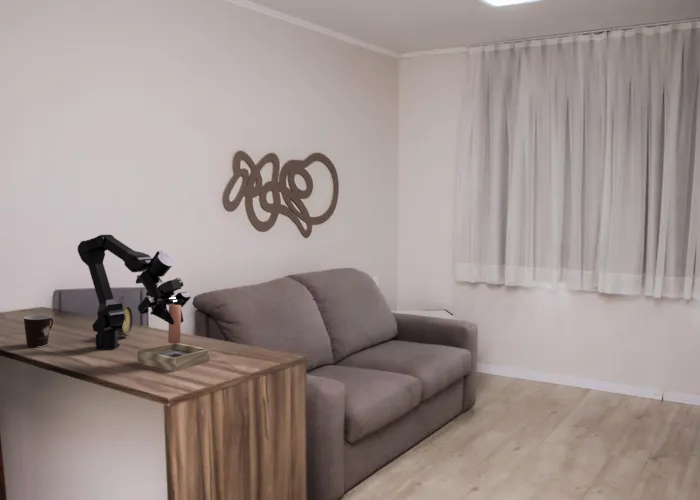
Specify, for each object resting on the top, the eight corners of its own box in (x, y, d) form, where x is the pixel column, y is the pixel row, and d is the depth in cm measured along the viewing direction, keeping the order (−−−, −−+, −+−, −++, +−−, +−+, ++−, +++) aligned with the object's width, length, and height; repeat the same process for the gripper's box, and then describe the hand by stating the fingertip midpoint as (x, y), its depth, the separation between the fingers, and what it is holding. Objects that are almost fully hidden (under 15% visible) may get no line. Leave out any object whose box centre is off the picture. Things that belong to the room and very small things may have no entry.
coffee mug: (30, 349, 212) (31, 320, 211) (18, 345, 217) (18, 316, 216) (64, 344, 221) (64, 316, 221) (51, 340, 226) (51, 313, 226)
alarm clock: (122, 341, 230) (123, 297, 229) (107, 340, 230) (108, 297, 229) (133, 335, 241) (134, 293, 240) (119, 334, 241) (120, 292, 240)
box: (209, 361, 207) (209, 349, 207) (173, 371, 193) (174, 358, 193) (174, 353, 215) (174, 342, 215) (137, 363, 201) (137, 350, 201)
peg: (178, 340, 206) (179, 304, 205) (181, 342, 203) (182, 306, 202) (166, 341, 204) (167, 305, 203) (170, 343, 201) (171, 306, 200)
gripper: (144, 272, 196) (169, 311, 191) (187, 268, 212) (211, 304, 207) (127, 294, 200) (150, 333, 195) (170, 288, 216) (193, 324, 212)
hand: (177, 322), depth 202 cm, fingers closed on peg, 4 cm apart
